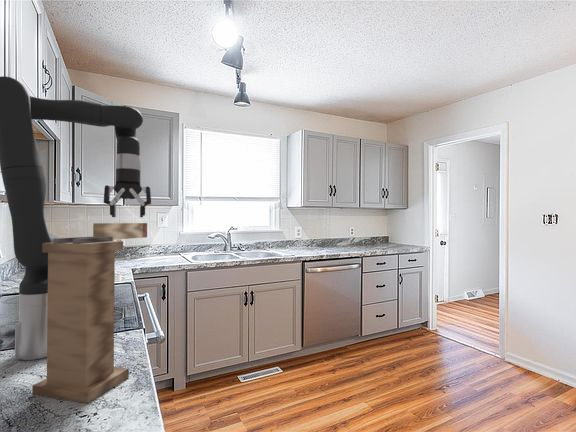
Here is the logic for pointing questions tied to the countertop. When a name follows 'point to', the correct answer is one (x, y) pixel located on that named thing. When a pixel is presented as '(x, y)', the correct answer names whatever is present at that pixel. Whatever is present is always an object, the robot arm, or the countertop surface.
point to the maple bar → (120, 230)
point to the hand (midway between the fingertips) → (127, 217)
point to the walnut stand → (80, 319)
